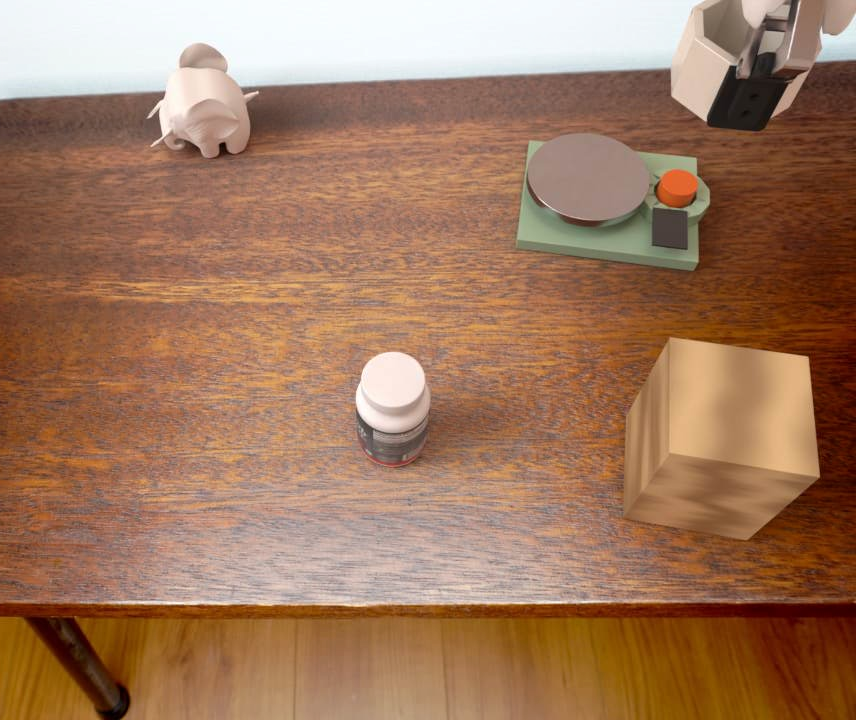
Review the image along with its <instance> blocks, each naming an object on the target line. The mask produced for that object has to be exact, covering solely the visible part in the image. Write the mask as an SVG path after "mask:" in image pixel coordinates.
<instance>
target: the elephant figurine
mask: <svg viewBox="0 0 856 720" xmlns="http://www.w3.org/2000/svg"><path fill="white" fill-rule="evenodd" d="M228 68H229V66H228V61H227V59H226V57H225V56H224V55H223V54H222V53H221V52H220V51H219V50H217V49H216V48H214V47H213V46H212V45H210V44H207V43H204V42H194V43H192V44H190V45H187V47H186V48H184V49H183V51H182V52H181V53H180V55H179V57H178V61H177V67H176V69H175V70H173V72H172V73H171V74H170V75H169V76H168V78H167V82H166V85H165V93H164V97H163V99H161V100H159V102H158V103H157V104H156V105H155V107H154V108H153V109H152V110H151V111H150V112H149V114H148V116H147V117H146V120H148V119H151V118H152V117H153V116H154V115H155V113H157V112H158V110H159V112H158V116H159V118H158V119H159V124H160V129H161V130H160V131H161V135H162V136H161V137H160V138H158V139H157V140H155V141H154V142H153V143H152V144H151V145H150V148H153V147H155V146H158V145H160V144H162V142H163V141H164V143H165V144H166V145H167V147H168V148H170V150H173V151H179V150H182V149H183V148H185V146H186V142H185V141H187V142H190V143H191V144H193V145H195V147H198V148H199V150H200V152H201V155H202V157H204V158H206V159H212V158H216V157H217V156H219V154H220V144H222V143H225V147H226V150H227V152H228V153H230V154H232V155H237V154H239V153H241V152H243V151H244V150H245V149H246V147H247V144H248V142H249V139H250V134H251V122H250V117H249V111H248V107H247V103H248V102H249V101H251V100H252V99H253V98H255V97H256V96H257V95H259V94H260V92H259V90H256V91H254V92H250V93H249V92H248V93H245V94H244V92H243V90H242V88H241V87H240V85H239V83H238V82H237V81H236V80H235V79H234V78H232V77H231V76H230V75H228V73H227V72H228Z"/></svg>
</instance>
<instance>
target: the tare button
mask: <svg viewBox="0 0 856 720" xmlns="http://www.w3.org/2000/svg"><path fill="white" fill-rule="evenodd" d="M697 188H698V181H697V179H696V177H695V176H694V175H693V174H691V173H690V172H687V171H685V170H680V169H674V170H670V171H668V172H666V173H665V174H664V175H663V176H662V178H661V181H660V183H659V186H658V188H657V191H656V195H657V198H658V200H659V201H660V202H661V203H662V204H664V205H666V206H668V207H672V208H682V207H685V206H687V205H689V204H690V203H691V201H692V199H693V197H694V195H695V193H696V190H697Z"/></svg>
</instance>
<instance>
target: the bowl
mask: <svg viewBox="0 0 856 720" xmlns="http://www.w3.org/2000/svg"><path fill="white" fill-rule="evenodd" d="M789 10H790V5H782V6H781V7H780V8H778V9H777V10H776V11H775V12H774V13H773V14H771V13H767V15H771V16H785V17H788V14H789ZM749 26H750V25H749V23H748V22H747V21H746V19H745V17H744V14H743V8H742V0H703V1H702V2H700V3H698V4H696V5H694V6H693V7H692V8H691V11H690V14H689V16H688V18H687V22H686V24H685V26H684V30H683V33H682V35H681V38H680V40H679V43H678V45H677V48H676V51H675V54H674V56H673V59H672V61H671V63H670V96H671V98H673V99H674V100H675V101H677V102H678V103H680V104H681V105H682V106H684V107H685V108H686V109H688V110H689V111H690V112H691V113H693V114H694V115H695V116H697V117H699V118H700V119H701V120H703V121H704V122H705V123H707V115H708V112H709V110H710V108H711V106H712V104H713V101H714V99H715V97H716V95H717V93H718V90H719V88H720V86H721V84H722V82H723V79H724V77H725V75H726V73H727V71H728V68H729V66H730V65H734V66H737V65H738V61H739V58H740V55H741V52H742V48H743V45H744V42H745V39H746V35H747V32H748V29H749ZM784 33H785V32H774V31H765V32H764V35H763V39H762V42H761V45H760V48H759V51H758V54H757V55H759V54H762V53H765V52H775V51H776V49H777V48H779V47H780V45H781V43H782V41H783V37H784ZM822 44H823V43H822V38H821V33H820V34H819V39H818V43H817V48H816V53H815V57H814V61H813V64H812V66H811V68H810V69H809V70H808V71H807V72H804V73H802V74H800V75H798V76H797V77H796V79H794V81H793V82H792V83H791V84H789V85H788V87H787V88H786V90H785V92H784V94H783V96H782V98H781V99H780V101H779V103H778V105H777V107H776V109H775V111H774V112H773V114H772V116H771V118H770V119H772V118H774V117H775V116H777V115H779V114H781V113H783V112H784V111H785V110H787V109H788V108H790V107H791V105H792V103H793V101H794V100H795V98H796V96H797V94H798V93H799V91H800V89H801V87H802V85H803V83H804V82H805V80H806V79H807V76H808V74H809V73H810V72H811V69H812V68H813V66H814V64H815V62H816V60H817V58H818V57H819V55H820V53H821V51H822V50H823V45H822Z"/></svg>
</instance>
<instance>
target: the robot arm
mask: <svg viewBox="0 0 856 720" xmlns="http://www.w3.org/2000/svg"><path fill="white" fill-rule="evenodd" d="M782 5H790V10H789V14H788V17H785V16H771V15H767V13H771V14H773V13H774V12H775V11H776V10H777V9H778V8H780V7H781V6H782ZM742 8H743V14H744V17H745V19H746V21H747V22H748V23H749V25H750V26H749V29H748V32H747V35H746V39H745V42H744V45H743V48H742V52H741V55H740V58H739V61H738V65H737V66H734V65H730V66H729V68H728V71H727V73H726V75H725V77H724V79H723V82H722V84H721V86H720V88H719V90H718V93H717V95H716V97H715V99H714V101H713V104H712V106H711V108H710V110H709V112H708V115H707V122H706V125H707V127H709V128H715V129H724V130H734V131H743V132H761V131H763V130H765V128H767V125H768V124H769V122H770V120H771V119H772V118H771V116H772V114H773V112H774V111H775V109H776V107H777V105H778V103H779V101H780V99H781V98H782V96H783V94H784V92H785V90H786V88H787V87H788V85H789V84H791V83H792V82H793V81H794V79H796V77H797V76H798V75H800V74H802V73H804V72H807V71H808V70H809V69H810V68H811V66H812V64H813V61H814V57H815V53H816V48H817V43H818V39H819V34H820V35H821V32H822V35H823V34H824V35H830V36H836V37H837V36H839V35H841V34H842V33H843V32H845V30H846V29H847V28H848V27H849V25H851V22H852V20H853V18H854V17H855V15H856V0H742ZM765 31H774V32H785V33H784V37H783V41H782V43H781V45H780V47H779V48H777V49H776V51H775V52H765V53H762V54H759V55H757V54H758V51H759V48H760V45H761V42H762V39H763V35H764V32H765ZM813 65H814V64H813ZM812 67H813V66H812ZM811 69H812V68H811ZM811 69H810V70H811Z"/></svg>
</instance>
